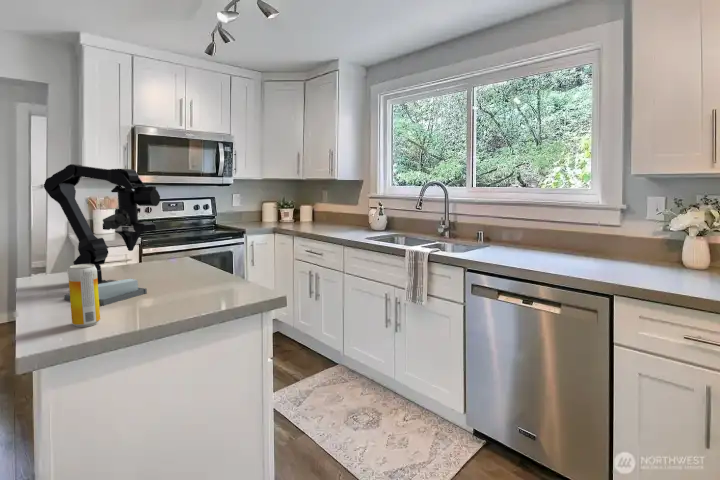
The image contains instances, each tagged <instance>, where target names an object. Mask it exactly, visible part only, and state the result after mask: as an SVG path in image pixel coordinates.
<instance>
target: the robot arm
mask: <svg viewBox="0 0 720 480" xmlns="http://www.w3.org/2000/svg"><path fill="white" fill-rule="evenodd" d="M82 177H83V178H87V179H88V178H90V179H93V180H94V179H95V180H103V181H107V182H108V183H111V184H114V185H115V186H114V188H112V189H111V191H110V193H117V203H118V205H117V206H118V208H115V211H114V214H111V215H109V216H107V217H105V218H103V219H102V230H105V231H107V230H108V231H109V230H115V231H114V232H115V233H117V234H118V235H120V236H121V237H122V239H123V241H124V245H125V246H126V248H127V250H128V251H129V252H132V251H133V250H134V248H135V247H136V244H137V242H138V240H139V238H140V237H141V235H142V233H146V232H154V231H156V230H157V229H156V228H157V226H156V223H154V222H151V221H150V222H149V221H143V222H142V221H141V219H139V213H138V212H140V213H141V208H140V207H157V206H159V205H160V201H161V195H160V193H159V191H158V190H157V187H156V185H155V186H154V185H153V186H152V185H150V186H146V185H145V184H144V182H143V181H142V180H141V178H140V177H139V174H138V172H137V170H135V169H133V168H111V169H110V168H109V169H107V168H102V167H101V168H100V167H95V166H94V167H93V166H86V165H81V164H77V163H75V164H72V163H71V164H68V165H66V166H65V167H64V168H63V169H61V170H59V171H57V172H56V173H54V174H53V175H51V176H50V177H47V178H46V179H45V180H44V184H43V189H44V190H45V191H46V193H47V194H48V196H49V197H50V198H51V199H52V200H54V201H55V202H57V204H59V206H60V207H61V208H60V209H62V211H63V213H64V216H65V217H66V219H67V221H68V223H69V225H70V227H71V229H72V230H73V233H74V234H75V236H76V239H77V240H78V241H77V242H78V246H77V247H78V248H77V250H78V254H79V255H78V256H77V257H76V258H75V259H74V261H73V265H79V264H94V265H95V267H96V269H97V278H98V282H103V281H107V280H105V279H103V275H102V274H103V273H102V267H101V265H104V264H105V263H106V259H107V257H108V255H109V246H108V245H107V244H106V241H105V239H104V238H103V237H100V238H99V237H97V236H95V235H94V233H93V231H92V229H91V227H90V225H89V223H88V221H87V219H86V218H85V215H84V213H83V212H82V210H81V208H80V206H79V204H78V201H77V200H76V192H77V191H76V188H75V186H77V185H78V184H79V182H80V180H81V178H82ZM138 206H139V208H138Z"/></svg>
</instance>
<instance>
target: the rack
mask: <svg viewBox="0 0 720 480" xmlns="http://www.w3.org/2000/svg"><path fill="white" fill-rule="evenodd" d="M114 281H117V280H116V279H108V280H106V281H103V282H98V284H102V283H108V282H114ZM147 291H148V290H147V288H145V287H138V290H136V291H133V292H129V293H125V294H122V295H118V296H114V297H110V298H107V299H99V306H103V307H104V306H107V305H110V304H114V303H118V302H120V301H124V300H128V299H131V298H134V297H138V296H141V295H145V294H148V293H147ZM63 296H64V300H65V301H70V293H66V294H63Z"/></svg>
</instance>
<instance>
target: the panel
mask: <svg viewBox="0 0 720 480" xmlns="http://www.w3.org/2000/svg"><path fill="white" fill-rule="evenodd" d="M138 281H139V280H138V279H135V278H127V279H119V280H116V281H114V282H108V283H102V284H98V292H99V299H107V298H110V297H114V296H118V295H122V294H125V293H129V292H133V291H136V290H138V288H139V282H138Z"/></svg>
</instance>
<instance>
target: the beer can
mask: <svg viewBox="0 0 720 480" xmlns="http://www.w3.org/2000/svg"><path fill="white" fill-rule="evenodd" d="M67 274H68V275H67V276H68V288H69V289H68V290H69V294H70V300H69V301H70V310H71V311H70V312H71V313H70V314H71V324H72V325H74V327H76V328H87V327H91V326H94V325H95V326H96V325H98V323H99V322H100V320H101V311H100V305H99V292H98V278H97V269H96V267H95V265H94V264H79V265H74V264H73V265H70V266H69V269H68V271H67Z"/></svg>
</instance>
